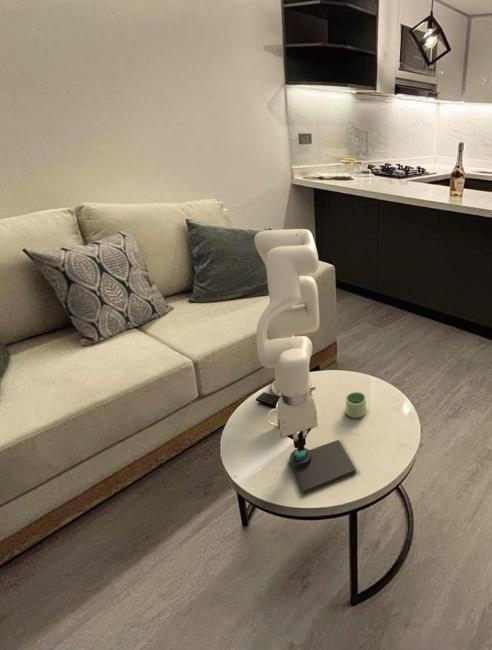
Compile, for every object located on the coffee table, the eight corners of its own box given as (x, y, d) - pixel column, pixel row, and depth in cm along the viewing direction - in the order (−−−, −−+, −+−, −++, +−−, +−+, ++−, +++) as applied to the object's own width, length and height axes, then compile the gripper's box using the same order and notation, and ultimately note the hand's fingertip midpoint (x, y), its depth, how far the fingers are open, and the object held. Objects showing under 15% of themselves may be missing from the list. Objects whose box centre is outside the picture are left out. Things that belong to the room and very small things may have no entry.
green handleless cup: (343, 409, 139) (342, 395, 137) (360, 404, 142) (360, 390, 140) (350, 421, 134) (350, 406, 132) (368, 415, 137) (369, 400, 135)
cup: (302, 427, 130) (300, 407, 127) (270, 436, 126) (267, 415, 123) (297, 414, 136) (296, 394, 133) (266, 422, 132) (264, 401, 129)
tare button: (293, 454, 116) (293, 450, 116) (304, 451, 118) (303, 447, 117) (297, 462, 114) (296, 457, 114) (307, 458, 116) (307, 454, 115)
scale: (288, 460, 118) (287, 452, 117) (338, 442, 125) (337, 434, 124) (302, 495, 107) (301, 486, 106) (355, 473, 115) (355, 465, 113)
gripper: (318, 379, 114) (320, 431, 121) (263, 394, 107) (269, 448, 114) (327, 394, 108) (329, 447, 115) (270, 410, 101) (276, 466, 108)
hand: (300, 447), depth 114 cm, fingers closed
